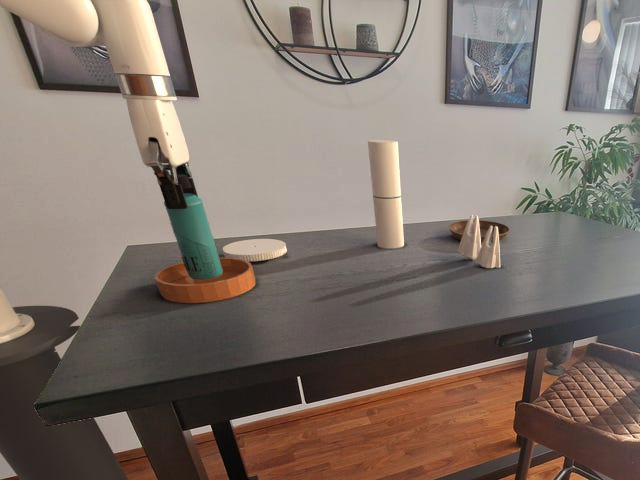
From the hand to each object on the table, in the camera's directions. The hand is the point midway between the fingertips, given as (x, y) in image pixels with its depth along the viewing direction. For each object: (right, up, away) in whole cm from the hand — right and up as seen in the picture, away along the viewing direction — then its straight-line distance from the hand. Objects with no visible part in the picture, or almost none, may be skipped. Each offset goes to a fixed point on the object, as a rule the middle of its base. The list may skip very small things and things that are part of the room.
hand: (183, 203), depth 82 cm
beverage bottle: (0, -13, +8) cm, 15 cm away
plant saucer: (+55, +9, +48) cm, 74 cm away
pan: (0, -14, +9) cm, 16 cm away
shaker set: (+55, -4, +28) cm, 62 cm away
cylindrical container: (+31, +4, +39) cm, 50 cm away
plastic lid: (0, -2, +26) cm, 27 cm away
